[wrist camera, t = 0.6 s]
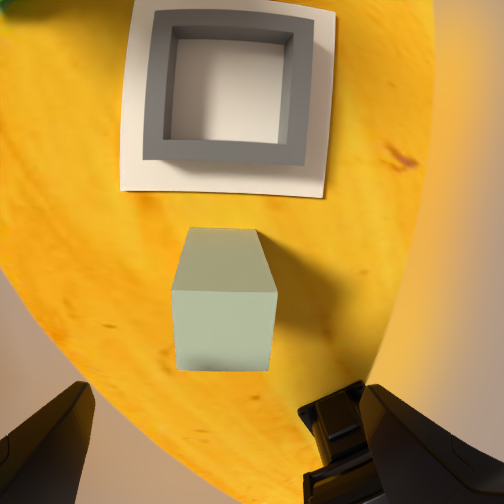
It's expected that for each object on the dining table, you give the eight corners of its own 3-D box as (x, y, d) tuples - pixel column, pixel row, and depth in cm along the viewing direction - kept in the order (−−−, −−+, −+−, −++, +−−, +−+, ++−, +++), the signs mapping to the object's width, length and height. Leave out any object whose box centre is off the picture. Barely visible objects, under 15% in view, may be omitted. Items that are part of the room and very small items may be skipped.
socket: (333, 14, 15) (350, -2, 12) (320, 196, 19) (336, 207, 16) (136, 2, 13) (123, -16, 11) (122, 189, 17) (106, 199, 15)
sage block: (255, 229, 19) (278, 292, 12) (251, 288, 21) (268, 371, 13) (189, 227, 19) (171, 290, 11) (189, 286, 20) (177, 369, 13)
